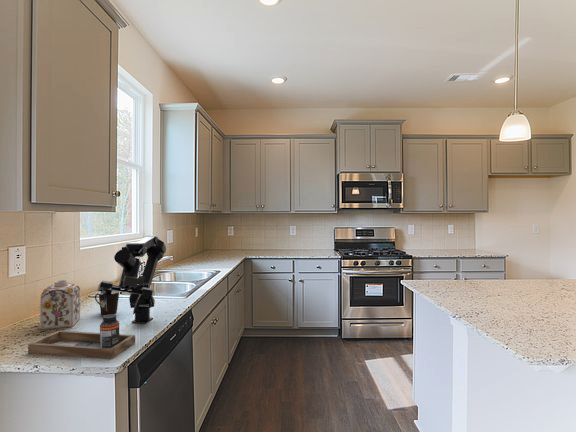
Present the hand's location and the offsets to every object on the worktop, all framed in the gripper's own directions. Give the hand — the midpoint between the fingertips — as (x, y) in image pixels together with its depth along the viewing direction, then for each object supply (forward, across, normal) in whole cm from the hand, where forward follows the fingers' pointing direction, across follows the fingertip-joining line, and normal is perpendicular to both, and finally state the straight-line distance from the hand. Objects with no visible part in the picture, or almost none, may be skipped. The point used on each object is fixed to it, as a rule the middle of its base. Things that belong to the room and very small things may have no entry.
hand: (120, 312), depth 124 cm
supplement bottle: (+13, -1, -4) cm, 14 cm away
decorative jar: (+1, -16, +34) cm, 38 cm away
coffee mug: (-7, 0, +39) cm, 39 cm away
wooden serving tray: (+13, -9, +3) cm, 16 cm away
